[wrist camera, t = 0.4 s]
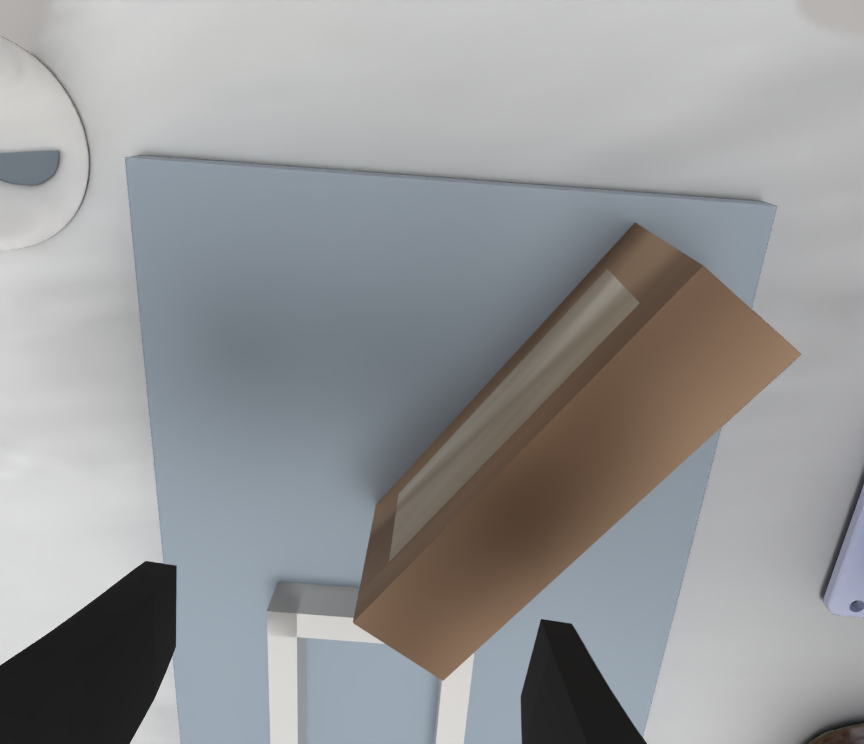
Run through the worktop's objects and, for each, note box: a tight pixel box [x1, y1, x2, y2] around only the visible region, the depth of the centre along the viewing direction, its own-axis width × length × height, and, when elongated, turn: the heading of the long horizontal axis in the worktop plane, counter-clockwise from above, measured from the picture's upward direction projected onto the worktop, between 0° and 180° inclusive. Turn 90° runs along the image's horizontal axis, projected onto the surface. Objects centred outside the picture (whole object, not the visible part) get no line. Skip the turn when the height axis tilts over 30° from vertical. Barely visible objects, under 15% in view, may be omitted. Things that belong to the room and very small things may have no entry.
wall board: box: [125, 155, 777, 744], centre depth 24 cm, size 18×30×2 cm, turn 176°
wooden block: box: [353, 223, 801, 681], centre depth 18 cm, size 3×12×6 cm, turn 141°
